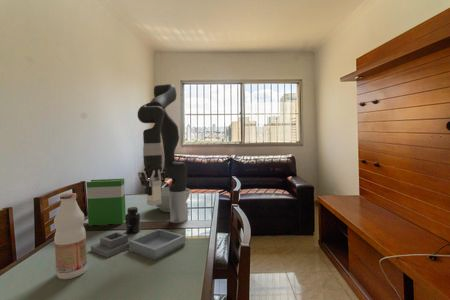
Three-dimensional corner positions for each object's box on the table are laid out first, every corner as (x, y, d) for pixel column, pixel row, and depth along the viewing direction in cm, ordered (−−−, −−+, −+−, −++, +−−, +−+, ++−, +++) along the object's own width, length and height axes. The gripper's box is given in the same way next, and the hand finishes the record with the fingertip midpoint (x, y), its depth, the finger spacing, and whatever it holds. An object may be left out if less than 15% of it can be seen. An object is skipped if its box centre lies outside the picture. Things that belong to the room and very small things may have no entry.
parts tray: (159, 236, 120) (159, 228, 120) (184, 244, 111) (184, 235, 111) (129, 250, 107) (128, 240, 107) (155, 260, 98) (155, 250, 97)
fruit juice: (60, 283, 83) (56, 199, 82) (53, 273, 89) (48, 194, 88) (91, 271, 90) (87, 193, 88) (82, 263, 96) (78, 190, 95)
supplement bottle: (125, 234, 124) (124, 210, 123) (126, 230, 130) (125, 207, 130) (139, 233, 125) (139, 209, 125) (140, 228, 132) (139, 205, 131)
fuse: (155, 202, 111) (154, 179, 110) (161, 203, 108) (160, 180, 108) (147, 204, 107) (146, 180, 107) (153, 205, 105) (153, 181, 105)
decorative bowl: (187, 215, 153) (186, 195, 152) (143, 215, 153) (142, 196, 153) (193, 203, 180) (193, 186, 179) (156, 203, 180) (155, 187, 180)
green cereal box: (88, 226, 137) (86, 182, 136) (93, 221, 145) (91, 179, 143) (122, 223, 140) (120, 180, 138) (125, 219, 147) (124, 178, 146)
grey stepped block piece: (120, 239, 119) (120, 228, 118) (136, 244, 112) (136, 233, 112) (90, 250, 107) (90, 238, 107) (107, 257, 100) (106, 245, 100)
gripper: (159, 152, 115) (161, 190, 116) (132, 155, 103) (134, 196, 104) (171, 153, 110) (172, 191, 111) (144, 155, 99) (146, 198, 100)
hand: (154, 194), depth 108 cm, fingers closed on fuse, 4 cm apart
